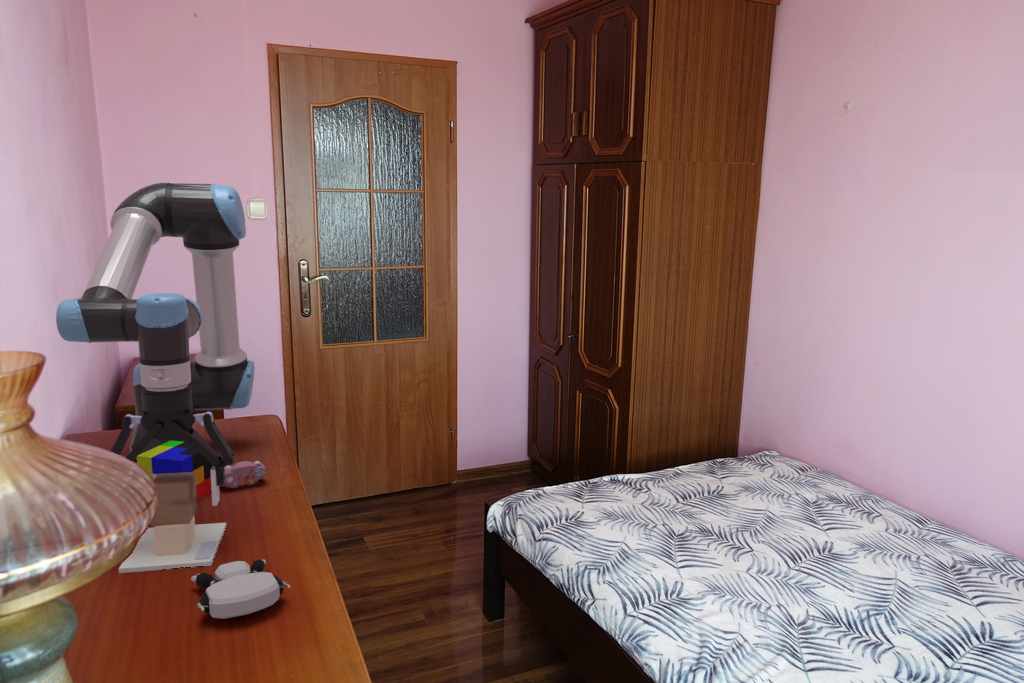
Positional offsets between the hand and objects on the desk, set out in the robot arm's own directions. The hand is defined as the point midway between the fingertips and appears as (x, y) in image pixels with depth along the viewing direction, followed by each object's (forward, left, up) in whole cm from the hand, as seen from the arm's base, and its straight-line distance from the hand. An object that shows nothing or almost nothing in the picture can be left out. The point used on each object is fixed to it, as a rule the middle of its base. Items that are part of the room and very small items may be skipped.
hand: (174, 505), depth 119 cm
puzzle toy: (-24, -5, -8) cm, 26 cm away
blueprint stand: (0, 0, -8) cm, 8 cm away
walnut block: (0, 0, -2) cm, 2 cm away
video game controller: (-28, +7, -8) cm, 30 cm away
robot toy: (+19, +13, -8) cm, 25 cm away
